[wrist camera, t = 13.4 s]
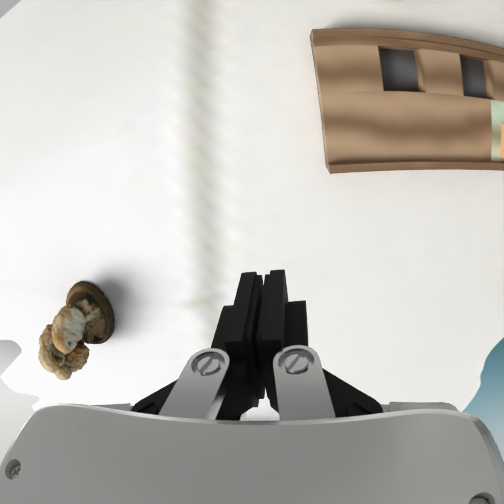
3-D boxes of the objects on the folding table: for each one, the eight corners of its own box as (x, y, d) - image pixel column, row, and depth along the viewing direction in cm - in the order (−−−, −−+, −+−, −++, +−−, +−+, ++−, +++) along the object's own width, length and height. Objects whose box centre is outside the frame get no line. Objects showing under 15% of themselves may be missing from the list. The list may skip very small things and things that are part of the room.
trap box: (309, 36, 33) (312, 29, 29) (515, 57, 27) (532, 57, 23) (325, 165, 41) (329, 173, 37) (519, 164, 35) (535, 172, 31)
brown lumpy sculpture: (113, 352, 64) (81, 408, 49) (71, 331, 64) (34, 382, 49) (116, 293, 56) (71, 355, 41) (67, 271, 55) (16, 324, 40)
